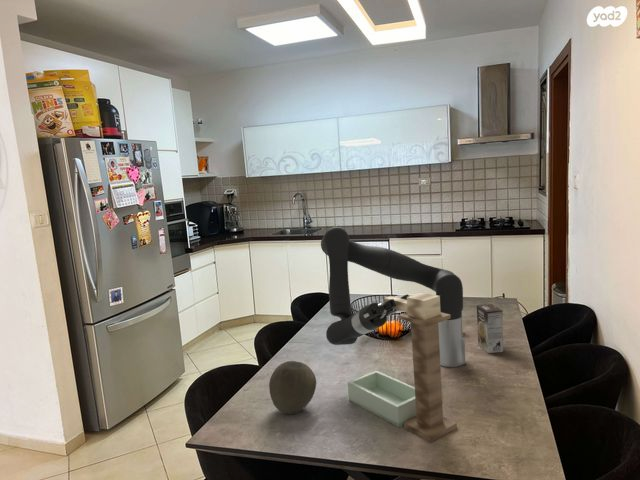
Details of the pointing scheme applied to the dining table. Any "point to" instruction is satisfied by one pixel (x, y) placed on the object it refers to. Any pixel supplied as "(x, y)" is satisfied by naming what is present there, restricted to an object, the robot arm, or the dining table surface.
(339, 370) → the dining table surface
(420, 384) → the shelf stand
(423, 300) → the peg
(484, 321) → the coffee box
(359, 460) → the dining table surface
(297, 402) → the cantaloupe
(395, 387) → the open box
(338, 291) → the robot arm
